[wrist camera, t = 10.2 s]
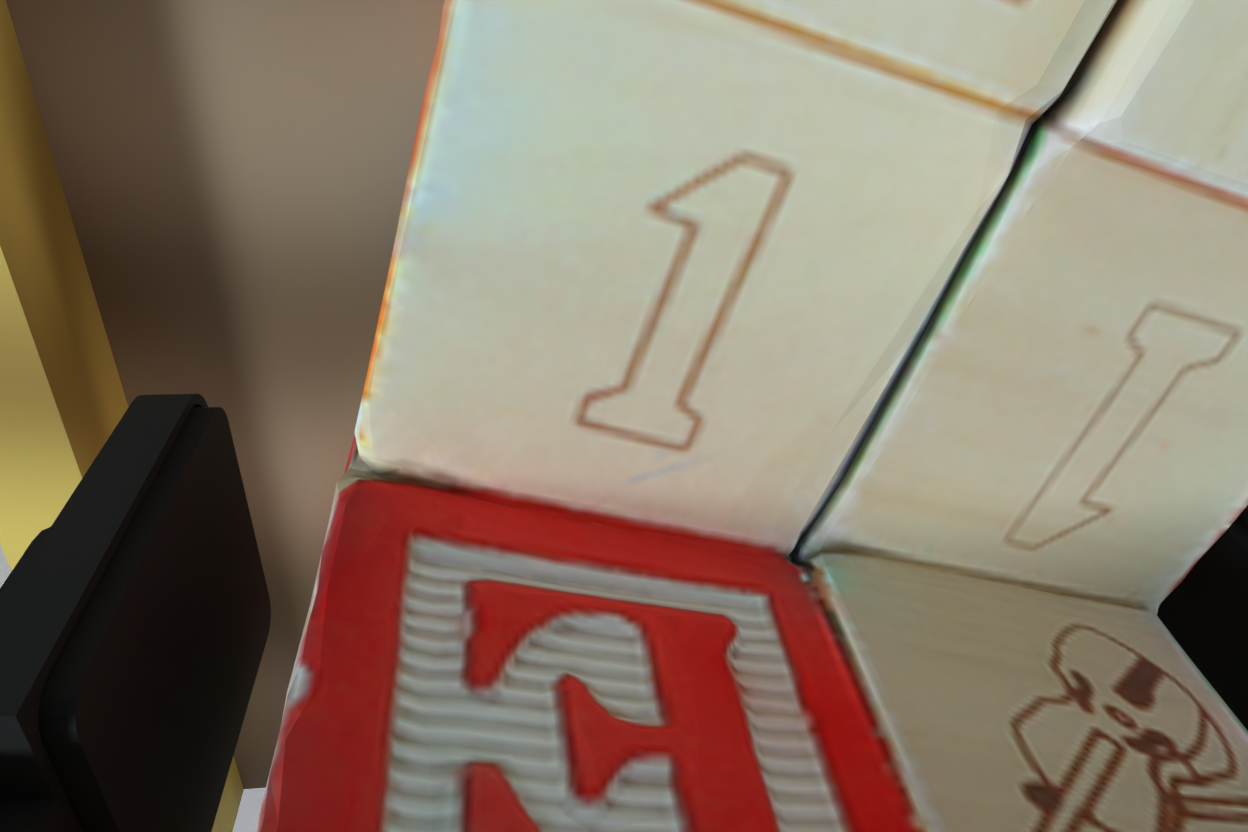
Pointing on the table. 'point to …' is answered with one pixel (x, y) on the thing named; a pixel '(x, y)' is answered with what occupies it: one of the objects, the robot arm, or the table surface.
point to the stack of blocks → (792, 428)
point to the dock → (202, 256)
